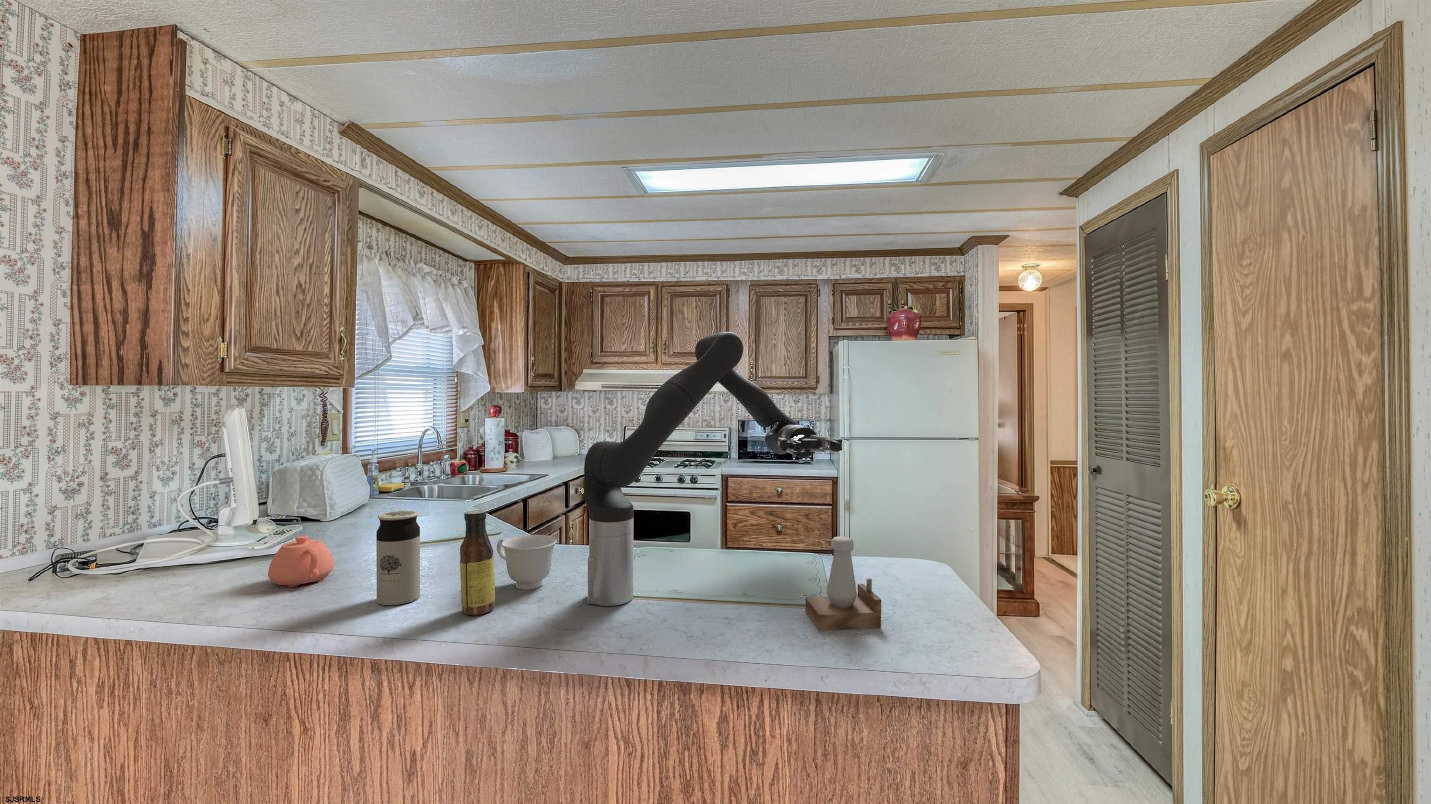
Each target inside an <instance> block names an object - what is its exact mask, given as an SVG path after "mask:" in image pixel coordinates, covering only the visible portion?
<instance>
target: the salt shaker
mask: <svg viewBox="0 0 1431 804" xmlns="http://www.w3.org/2000/svg"><path fill="white" fill-rule="evenodd" d="M830 543H831V549H832V550H833V551H834V553H833V556H832V563H831V568H830V572H829V577H828V582H827V587H826V597H828V598H829V601H830V603H831V605H833V606H835V607H837V608H849V607H851V606H853V604H854V602H855V599H856V597H857V586H856V579H855V571H854V566H853V558H852V553H851V552H853V551H854V549H855V544H854V540H853V538H851V537H848V536H846V535H845V536H844V535H843V536H841V535H839V536H834V537H833V538H832V539H831V542H830Z"/></svg>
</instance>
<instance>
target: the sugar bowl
mask: <svg viewBox="0 0 1431 804" xmlns="http://www.w3.org/2000/svg"><path fill="white" fill-rule="evenodd" d="M294 539H295V540H294V541H289V542H286V543H284V544H282V545H281V547H279V549H278V550H277V551H276V553H275V554H274V556H273V558H272V559H271V561H270V563H269V566H268V571H267V577H268V579H269V580H270V581H272V582H273V583H275V584H276V585H279V586H287V587H288V588H296V587H299V586H300V585H303V584H308V583H312V582H315V583H316V582H322V581H324V578H326V577H328V576H329V574H331V572H332V571H333V570H334V568H335V562H334V558H333V555H332V553H331V551H330V550H329V548H328V547H327V546H326V545H325V544H324V543H323V542H322V541H321V540H320V539H312V538H311V539H309V536H308V535H298V536H295V538H294Z"/></svg>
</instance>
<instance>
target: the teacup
mask: <svg viewBox="0 0 1431 804" xmlns="http://www.w3.org/2000/svg"><path fill="white" fill-rule="evenodd" d="M557 542H558V539H556V537H554V536H551V535H547V534H546V535H545V534H527V535H518V536H513V537H510V538H500V539H499V540H498V542H496V543H497V544H496V552H497V553H498V556H499V557H500V558H501V559H503V560H504V561H505V562H506V563H505V564H506V569H507V571H506V572H507V574H508V577H509V578H510V580H512V581H513V582H516V584H515V587H516V588H517V589H519V590H535V589H538V588H540V587H541V586H543V584H544V582H543V580H544V579H545V578H547V577H548V575H549V574H550V571H551V567H552V561H553V555H554V554H553V553H554V547H555V545H556V544H557Z"/></svg>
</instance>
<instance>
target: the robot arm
mask: <svg viewBox="0 0 1431 804" xmlns="http://www.w3.org/2000/svg"><path fill="white" fill-rule="evenodd" d="M694 348H695V349H694V355H695V358H696V361H695V362H693V363H691V365H688V366H687V367H685V368H684V369H682V370H680V371H678V372H677V373H675V374H674V375H672V376H671V377H670V378H668V379H667V380H666V381H665V382H663V384H661V386H660V387H658V389H657V390H656V391H654V393H653V394H652V395H651V397H649V399H648V401H647V403H646V406H645V410H644V415H643V419H642V421H641V423H640V424H639V426H638V427H637V428H636V429H635V430H634V431H633V432H631V434H630V435H629V436H628V437H627V438H625V439H623V440H622V441H620V442H619V441H618V442H617V441H610V440H609V441H608V440H602V441H596V442H595V443H593V444H592V445H591V446H590V447H589V449H588V450H587V452H586V454H585V459H584V464H583V479H584V500H585V504H586V507H587V510H588V517H589V518H588V519H589V521H588V525H589V526H588V528H589V529H588V530H589V531H588V533H589V534H588V558H587V604H588V605H596V606H603V607H610V606H611V607H612V606H613V607H614V606H619V605H623V604H626V603H627V604H628V603H629V602H630V601H632V600H633V598H634V514H635V511H634V504H633V503H632V502H631V501H630V499H628V498H627V497H626V496H625V495H624V493H623V491H622V488H625V487H628V486H630V485H631V484H633V483H634V482H636V480H637V479H638V478H639V477H640V476H641V474H643V471H644V470H645V469H646V468H647V467H648V464H649V463H650V462H651V460H652V459H653V457H654V456H655V455H656V454H657V452H658V450H659V449H660V448H661V446H662V445H663V444H664V443H665V442H666V441H667V440H668V438H669V437H670V436H671V435H672V434H673V432H674V431H676V429H677V428H678V427H679V426H680V425H681V424H682V423H683V422H684V421H685V420H686V418H687V417H688V416H689V415H690V414H691V413H692V412H693V411H694V409H695V408H696V407H697V406H698V405H699V403H700V402H701V401H702V400H703V399H704V398H705V396H707V394H709V392H710V391H711V390H712V388H713V387H714V386H715V385H716V384H717V383H719V384H720V385H721V386H722V387H723V388H725V390H726V391H728V392H729V394H731V396H733V397H734V399H736V400H737V401H738V402H739V403H740V404H741V405H742V407H743V408H744V409H745V410H746V411H747V412H748V414H750V416H751V417H752V418H753V420H754V421H755V422H756V424H757V425H758V426H759V427H760V428H765V429H766V428H769V427H772V426H773V425H774V426H773V427H772V428H771V429H770V430H769V431H767V432H766V434H765V437H764V442H765V445H766V447H767V448H768V449H769V450H770V451H771V452H773V453H775V454H777V455H785V454H787V453H789V454H791V455H792V456H796V457H798V458H801V459H805V458H810V457H811V456H814V454H815V453H817V452H821V453H826V452H827V453H828V451H831V452H833V453H834V452H835V453H839V452H841V451H843V439H842V438H836V437H833V436H831V437H828V436H819V435H818V434H817V432H816V431H815V430H814V429H813V428H810V427H809V426H803V425H800V424H799V422H797V421H796V420H794V419H793V418H792V417H790V416H788V415H787V414H786V413H785V412H783V411H782V410H781V409H780V408H779V407H778V406H777V404H776V403H775V402H774V401H773V400H772V398H771V397H770V395H768V393H767V392H766V391H765V390H764V389H763V388H761V386H759V385H757V384H755V383H754V382H753V381H751V380H750V379H747V378H746V377H745V376H743V375H742V374H740V373H739V372H738V371H737V370H736V369H735V368H736V366H738V364H739V362H740V361H741V359H742V357H743V354H744V344H743V341H742V338H741V337H740V336H739V335H738V334H736V333H734V332H732V331H721V332H717V333H716V332H715V333H714V334H710V335H707V336H704V337H702V338H700V339H699V340H698V341H697V343H696V345H695V347H694Z"/></svg>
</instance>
